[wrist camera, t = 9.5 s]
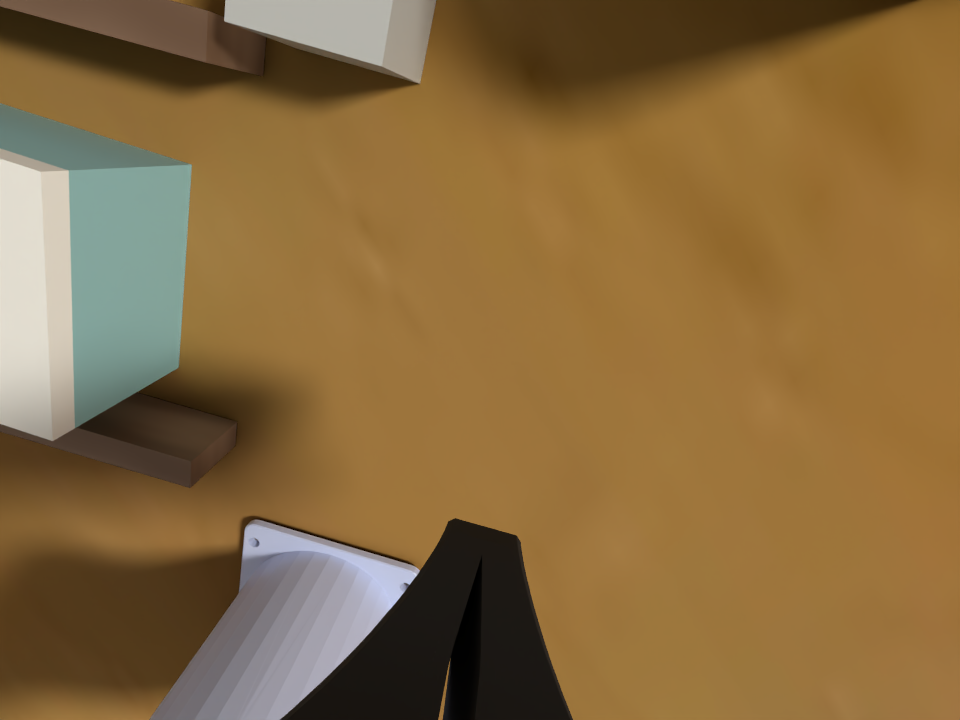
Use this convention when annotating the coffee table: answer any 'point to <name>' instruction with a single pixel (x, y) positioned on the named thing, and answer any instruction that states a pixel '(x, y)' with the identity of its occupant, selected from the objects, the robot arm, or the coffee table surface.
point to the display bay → (139, 418)
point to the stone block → (345, 30)
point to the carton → (85, 271)
